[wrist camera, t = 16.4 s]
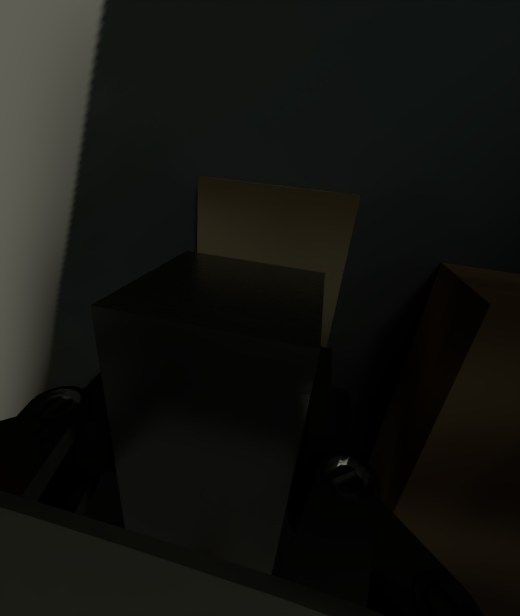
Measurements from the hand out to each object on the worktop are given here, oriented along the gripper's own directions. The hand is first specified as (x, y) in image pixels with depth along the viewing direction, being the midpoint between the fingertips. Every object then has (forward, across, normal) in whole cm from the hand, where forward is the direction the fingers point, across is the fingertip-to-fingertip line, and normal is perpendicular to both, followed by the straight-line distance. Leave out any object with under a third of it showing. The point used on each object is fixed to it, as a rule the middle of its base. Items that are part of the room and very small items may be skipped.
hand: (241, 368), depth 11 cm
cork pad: (+4, 0, 0) cm, 4 cm away
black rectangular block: (0, 0, +1) cm, 1 cm away
